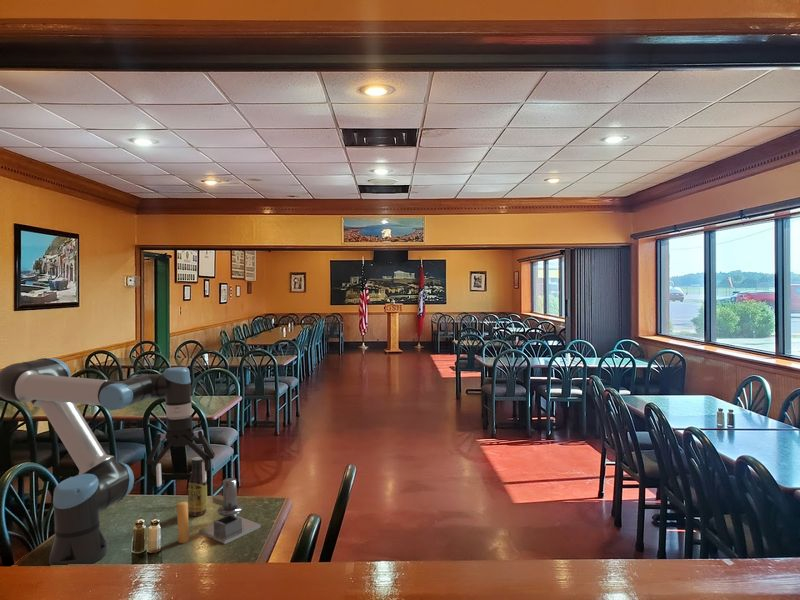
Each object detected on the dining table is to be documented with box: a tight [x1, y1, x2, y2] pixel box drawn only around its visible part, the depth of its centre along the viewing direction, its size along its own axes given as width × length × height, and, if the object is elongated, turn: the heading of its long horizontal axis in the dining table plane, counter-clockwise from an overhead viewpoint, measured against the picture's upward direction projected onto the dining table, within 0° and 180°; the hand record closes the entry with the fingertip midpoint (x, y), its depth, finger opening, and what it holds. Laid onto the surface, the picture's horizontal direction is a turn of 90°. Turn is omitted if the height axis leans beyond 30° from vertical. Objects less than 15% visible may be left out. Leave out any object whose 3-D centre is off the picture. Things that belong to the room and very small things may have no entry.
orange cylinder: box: [176, 501, 190, 544], centre depth 174 cm, size 3×3×12 cm
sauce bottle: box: [187, 456, 208, 517], centre depth 194 cm, size 7×6×20 cm
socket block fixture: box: [198, 477, 262, 545], centre depth 182 cm, size 19×14×15 cm
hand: (182, 483), depth 173 cm, fingers open, 13 cm apart
